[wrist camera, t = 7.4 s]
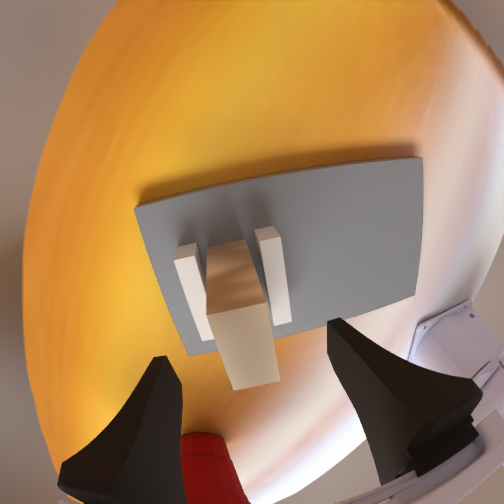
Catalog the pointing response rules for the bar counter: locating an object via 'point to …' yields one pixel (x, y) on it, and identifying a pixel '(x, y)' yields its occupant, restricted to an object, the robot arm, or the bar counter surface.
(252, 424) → the bar counter surface
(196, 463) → the plastic cup
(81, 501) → the robot arm
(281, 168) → the bar counter surface
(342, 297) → the clip board
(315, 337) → the bar counter surface
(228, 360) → the wooden block
